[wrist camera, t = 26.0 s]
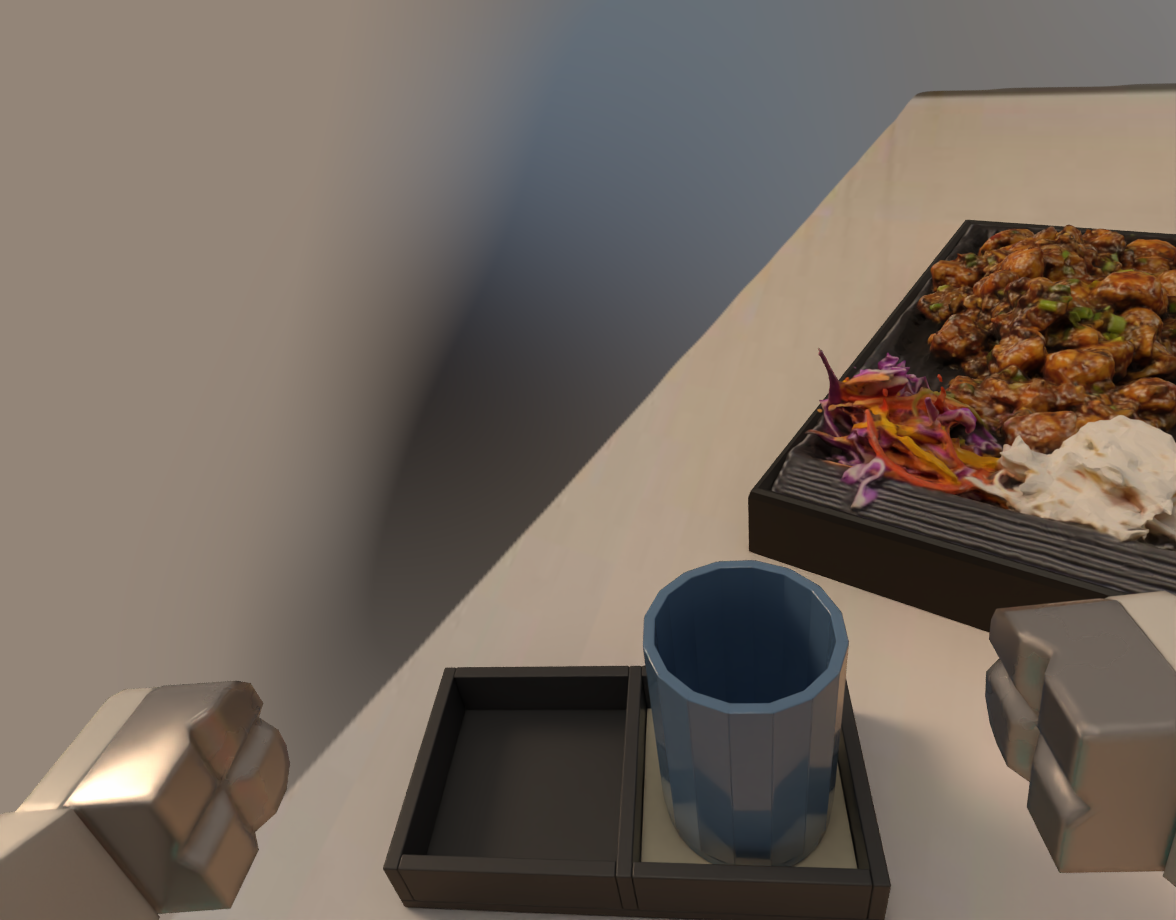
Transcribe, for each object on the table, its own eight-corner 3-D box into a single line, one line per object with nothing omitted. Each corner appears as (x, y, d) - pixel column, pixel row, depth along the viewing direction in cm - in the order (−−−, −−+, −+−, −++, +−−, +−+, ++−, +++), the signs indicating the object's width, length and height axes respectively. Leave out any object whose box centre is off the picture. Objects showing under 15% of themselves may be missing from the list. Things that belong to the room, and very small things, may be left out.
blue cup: (663, 873, 29) (640, 714, 24) (665, 722, 35) (646, 563, 29) (845, 877, 28) (866, 713, 23) (817, 721, 34) (828, 556, 28)
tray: (404, 907, 30) (381, 869, 29) (459, 707, 38) (444, 667, 36) (883, 927, 28) (891, 886, 26) (839, 707, 35) (842, 663, 33)
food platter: (1297, 735, 31) (1421, 550, 25) (749, 550, 44) (746, 400, 39) (1294, 299, 59) (1352, 162, 53) (957, 265, 72) (974, 153, 67)
